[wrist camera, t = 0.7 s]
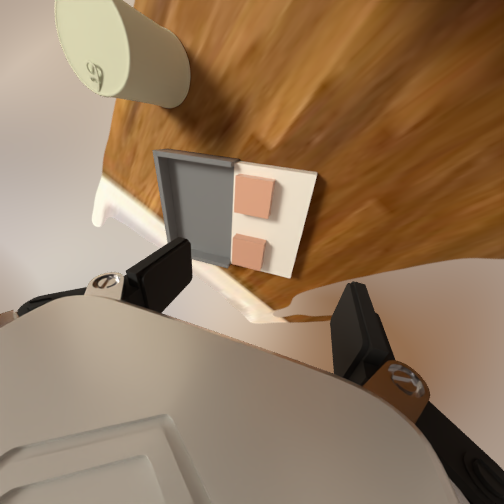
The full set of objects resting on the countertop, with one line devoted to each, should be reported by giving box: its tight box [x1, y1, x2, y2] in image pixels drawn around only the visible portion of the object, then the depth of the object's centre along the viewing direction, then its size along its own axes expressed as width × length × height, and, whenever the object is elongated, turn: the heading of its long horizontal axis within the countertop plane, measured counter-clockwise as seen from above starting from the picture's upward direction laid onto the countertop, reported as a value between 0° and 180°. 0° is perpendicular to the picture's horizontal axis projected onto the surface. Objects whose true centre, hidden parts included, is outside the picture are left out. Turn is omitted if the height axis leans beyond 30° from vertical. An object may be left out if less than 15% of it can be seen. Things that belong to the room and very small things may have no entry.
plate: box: [230, 161, 317, 278], centre depth 36 cm, size 20×13×2 cm, turn 174°
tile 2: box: [232, 233, 266, 271], centre depth 38 cm, size 6×6×2 cm
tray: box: [153, 149, 240, 268], centre depth 38 cm, size 21×14×4 cm
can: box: [55, 0, 190, 108], centre depth 25 cm, size 9×9×12 cm
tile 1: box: [234, 174, 276, 219], centre depth 32 cm, size 6×6×2 cm
